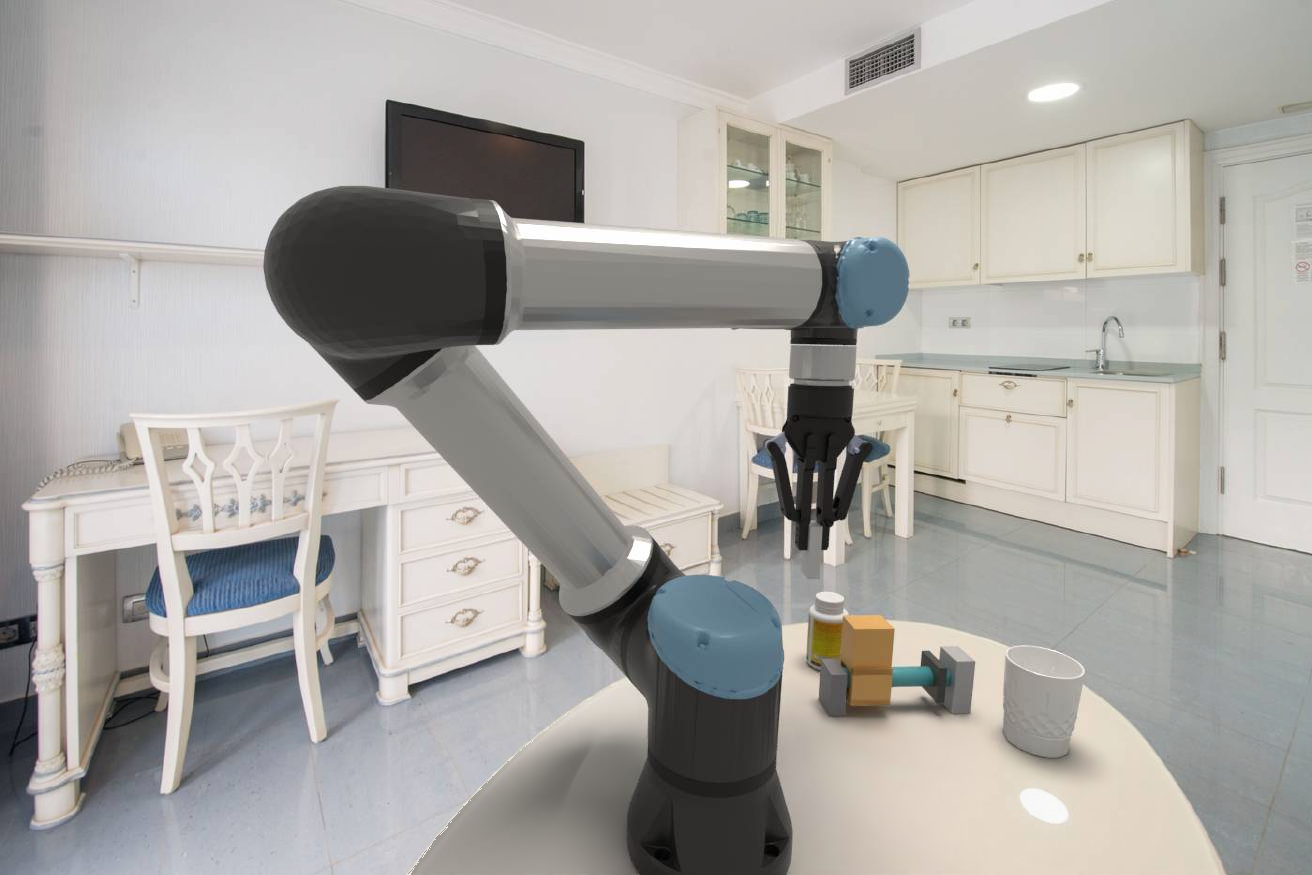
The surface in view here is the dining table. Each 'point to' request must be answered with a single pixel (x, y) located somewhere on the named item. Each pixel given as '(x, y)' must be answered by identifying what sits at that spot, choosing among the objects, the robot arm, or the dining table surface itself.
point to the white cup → (1040, 699)
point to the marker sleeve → (867, 659)
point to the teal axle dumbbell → (910, 680)
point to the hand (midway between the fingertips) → (809, 574)
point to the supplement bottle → (825, 628)
